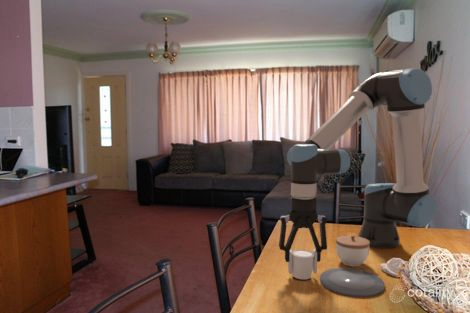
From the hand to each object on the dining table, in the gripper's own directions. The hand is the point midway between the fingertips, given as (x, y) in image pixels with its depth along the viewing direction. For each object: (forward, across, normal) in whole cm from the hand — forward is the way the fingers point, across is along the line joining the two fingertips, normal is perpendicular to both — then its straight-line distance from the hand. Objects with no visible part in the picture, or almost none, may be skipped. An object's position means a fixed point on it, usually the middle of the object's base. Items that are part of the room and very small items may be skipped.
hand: (302, 271), depth 119 cm
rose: (+3, -31, -4) cm, 31 cm away
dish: (+2, -14, +4) cm, 14 cm away
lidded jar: (+2, -19, -12) cm, 22 cm away
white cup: (+2, 0, 0) cm, 2 cm away
